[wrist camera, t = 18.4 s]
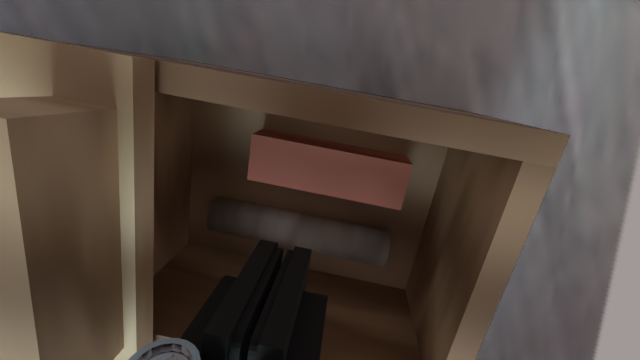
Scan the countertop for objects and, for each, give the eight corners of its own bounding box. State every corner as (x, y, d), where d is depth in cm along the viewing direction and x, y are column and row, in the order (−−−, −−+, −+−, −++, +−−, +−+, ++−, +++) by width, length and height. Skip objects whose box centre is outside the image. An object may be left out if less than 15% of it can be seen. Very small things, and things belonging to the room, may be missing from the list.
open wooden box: (413, 295, 20) (448, 421, 13) (181, 245, 21) (83, 335, 14) (472, 112, 17) (570, 135, 9) (188, 60, 18) (60, 42, 10)
